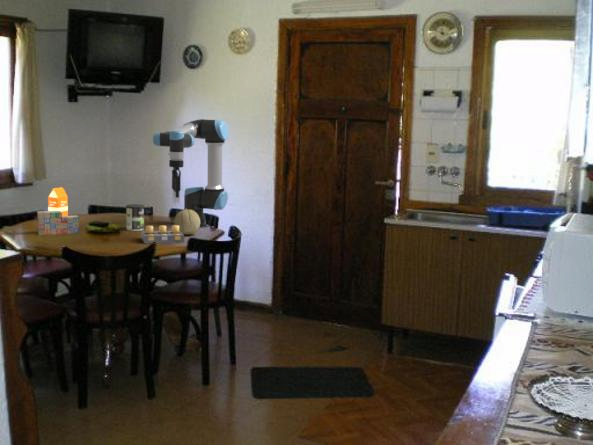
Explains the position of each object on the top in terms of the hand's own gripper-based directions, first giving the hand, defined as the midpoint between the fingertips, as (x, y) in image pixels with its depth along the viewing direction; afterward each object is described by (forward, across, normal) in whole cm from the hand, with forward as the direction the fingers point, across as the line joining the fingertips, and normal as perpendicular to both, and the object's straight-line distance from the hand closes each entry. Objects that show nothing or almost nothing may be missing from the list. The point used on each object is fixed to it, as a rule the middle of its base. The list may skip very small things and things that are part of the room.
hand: (175, 202), depth 385 cm
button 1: (+18, 0, -14) cm, 23 cm away
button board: (+21, 0, -7) cm, 22 cm away
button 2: (+18, 0, 0) cm, 18 cm away
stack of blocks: (+21, -29, -60) cm, 70 cm away
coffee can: (+21, -36, -18) cm, 45 cm away
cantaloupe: (+21, -16, +10) cm, 28 cm away
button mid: (+18, 0, -7) cm, 19 cm away
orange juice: (+21, -72, -60) cm, 95 cm away
